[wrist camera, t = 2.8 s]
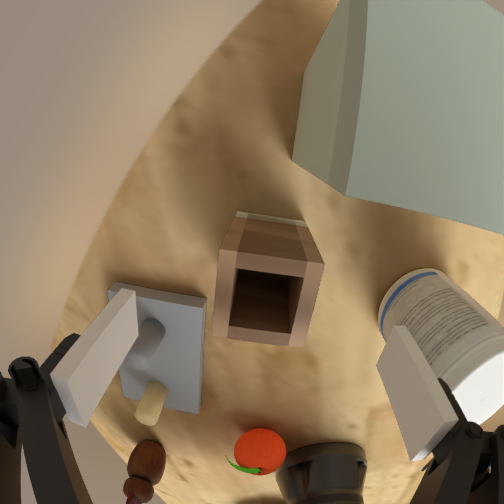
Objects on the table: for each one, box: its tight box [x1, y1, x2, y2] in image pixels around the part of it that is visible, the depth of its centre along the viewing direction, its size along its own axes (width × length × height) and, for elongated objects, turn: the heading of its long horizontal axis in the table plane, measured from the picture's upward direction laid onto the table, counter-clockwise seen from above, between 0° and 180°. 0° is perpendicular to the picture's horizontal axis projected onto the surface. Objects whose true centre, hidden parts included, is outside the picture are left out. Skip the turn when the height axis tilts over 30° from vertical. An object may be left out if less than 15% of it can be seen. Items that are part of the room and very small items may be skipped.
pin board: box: [107, 282, 207, 426], centre depth 29 cm, size 16×10×7 cm, turn 173°
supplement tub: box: [378, 268, 504, 425], centre depth 22 cm, size 10×10×15 cm
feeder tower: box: [292, 0, 504, 235], centre depth 15 cm, size 8×8×18 cm
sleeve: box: [212, 211, 324, 348], centre depth 23 cm, size 6×6×10 cm
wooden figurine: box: [123, 440, 166, 504], centre depth 33 cm, size 7×6×15 cm
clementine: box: [226, 428, 286, 475], centre depth 33 cm, size 8×7×7 cm
